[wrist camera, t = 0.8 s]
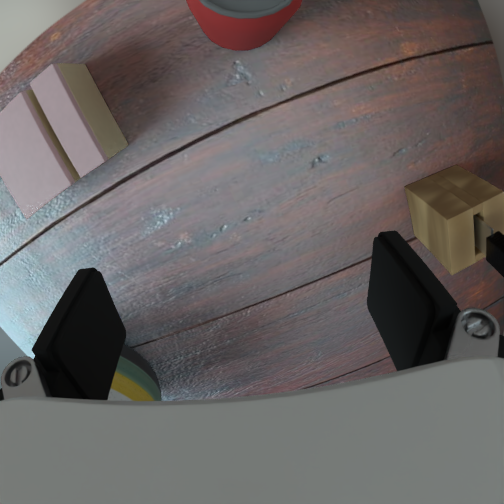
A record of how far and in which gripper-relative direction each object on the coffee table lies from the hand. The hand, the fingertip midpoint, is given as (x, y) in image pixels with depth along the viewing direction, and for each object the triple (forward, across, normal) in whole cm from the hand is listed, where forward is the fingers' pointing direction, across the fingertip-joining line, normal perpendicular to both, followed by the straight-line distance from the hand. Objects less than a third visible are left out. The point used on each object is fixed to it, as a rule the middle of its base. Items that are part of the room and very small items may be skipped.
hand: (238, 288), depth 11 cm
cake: (+19, +17, -5) cm, 26 cm away
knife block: (+19, -20, +6) cm, 29 cm away
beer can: (+19, -2, -12) cm, 23 cm away
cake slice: (+19, +12, -6) cm, 23 cm away
